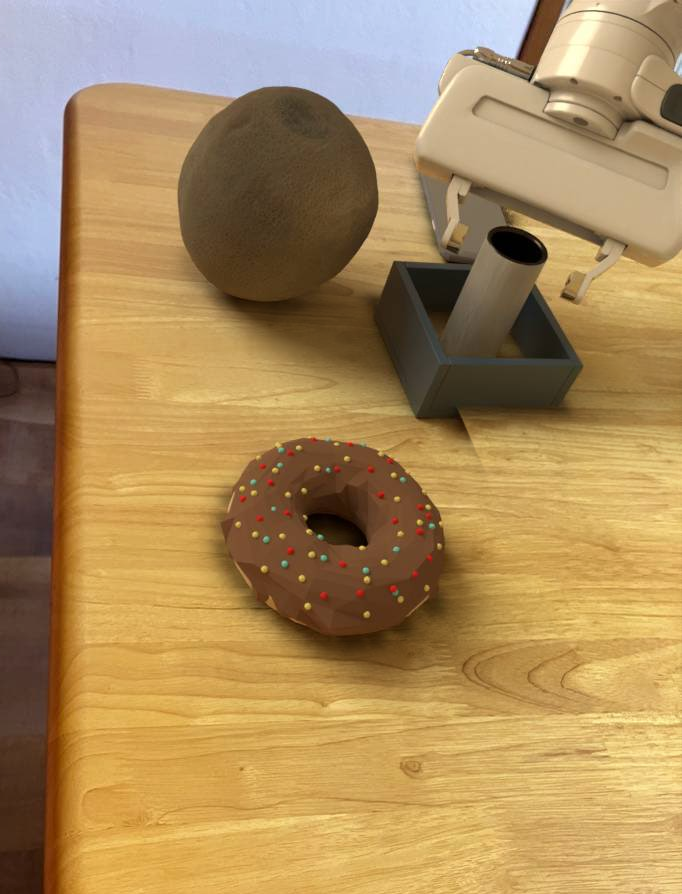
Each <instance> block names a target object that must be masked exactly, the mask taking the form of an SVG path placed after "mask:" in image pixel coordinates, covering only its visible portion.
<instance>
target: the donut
mask: <svg viewBox="0 0 682 894" xmlns="http://www.w3.org/2000/svg"><path fill="white" fill-rule="evenodd" d="M313 514H331V515H334V516H337V517H339V518H342V519H344V520H346V521H348V522H350V523H353V524H354V525H355V526H356V527H357V528H358V529H359V530H360V531H361V532H362V533H363V535H364V537H365V538H366V542H367V545H366V546H364V545H360V546H354V545H351V544H339V545H338V544H337V545H335V544H331V543H329V542H327V541H326V540H324V535H321V534H317V533H315V532H314V531H313V530H312V529H310V528H309V527H308V525H307V522H306V521H308V517H309V516H312V515H313ZM219 524H220V527H221V531H222V535H223V538H224V542H225V545H226V546H227V551H228V553H227V554H228V557H229V558H230V559H232V560H233V561H234V564H235V567H236V568H237V570H238V571H239V573H240V574H241V576H242V578H243V579H244V581H245V582H246V583H247V586H248V587H249V588H250V589H251V590H252V591H253V594H254V597H255V600H256V601H258V602H261V603H264V604H266V605H267V606H268V607H270V608H271V609H273V610H274V611H276V612H277V613H278V615H280V616H281V617H284V618H287V619H289V620H291V621H292V622H294V623H297V624H300V625H303V626H305V627H307V628H309V629H311V630H312V631H315V632H317V633H319V634H320V635H325V636H333V637H340V636H341V637H342V636H343V637H344V636H353V635H365V634H371V633H377V632H380V631H384V630H386V629H388V628H391V627H396V626H400V625H401V624H402V623H403V621H404V620H405V618H407V617H408V616H410V615H411V614H412V613H413V612H414V611H416V610H417V609H418V608H419V607H420V606H422V605H423V604H424V603H425V602H426V601H429V600H434V598H435V597H436V596H437V595H438V594H439V587H440V578H441V571H442V565H443V558H444V554H445V547H446V540H445V533H444V526H445V525H444V522H443V519H442V516H441V513H440V510H439V508H438V507H437V506H436V504H435V503H433V501H432V499H431V498H430V497H429V496H428V494H427V490H426V489H423V488H422V487H421V485H420V484H419V483H418V481H417V480H416V479H414V478H413V476H412V475H411V471H410V470H408V469H405V468H404V467H403V466H402V465H401V464H400V463H399V462H398V461H396V460H395V456H394V455H392V454H390V455H388V454H386V453H384V452H383V451H380V450H378V449H375V448H373V447H369V446H367V444H366V443H365V442H361V443H353V442H350V441H349V442H347V441H340V440H332V439H331V438H330V437H327V438H325V439H318V438H316V437H315V436H313V435H309V436H308V437H301V438H296V439H293V440H289V441H286V442H279V441H278V442H276V443H275V444H274V447H273V448H270V449H269V450H267V451H266V452H264V453H263V454H261V455H257V456H256V457H255V458H254V459H252V460H250V461H249V463H248V464H247V466H246V467H245V469H244V470H243V472H242V473H241V475H240V477H239V479H238V480H237V481H236V482H235V484H233V486H232V491H231V499H230V500H229V504H228V506H227V514H226V515H225V516H224V517H223V518H222V520H220V522H219Z"/></svg>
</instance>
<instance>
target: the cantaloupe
mask: <svg viewBox="0 0 682 894" xmlns="http://www.w3.org/2000/svg"><path fill="white" fill-rule="evenodd" d="M186 153H187V154H186V155H185V157H184V160H183V163H182V165H181V169H180V172H179V175H178V181H177V182H178V183H177V191H176V193H177V209H178V210H177V211H178V219H179V228H180V235H181V239H182V242H183V244H184V247H185V249H186V251H187V254H188V255H189V257H190V259H191V260H192V263H194V265H195V267H196V268H197V269H198V271H199V272H200V273H201V274H202V276H204V278H205V279H206V280H207V281H208V282H209V283H210V284H212V285H213V286H214V287H215V288H216V289H218V290H220V291H221V292H224V293H225V294H227V295H230V296H233V297H236V298H239V299H243V300H248V301H254V302H276V301H277V302H278V301H284V300H288V299H292V298H295V297H299V296H301V295H304V294H306V293H308V292H310V291H313V290H315V289H318V287H320V286H322V285H324V284H326V283H328V282H329V281H331V280H332V279H334V278H335V277H336V276H338V275H339V273H341V272H342V271H343V270H344V269H345V268H346V266H347V265H348V264H349V263H350V262H351V261H352V260H353V259H354V257H355V256H356V255H357V253H358V252H359V251H360V249H361V247H362V246H363V244H364V243H365V242H366V240H367V238H368V237H369V235H370V233H371V231H372V229H373V226H374V224H375V220H376V217H377V215H378V210H379V204H380V202H379V187H378V178H377V176H378V175H377V169H376V165H375V162H374V160H373V157H372V154H371V152H370V150H369V148H368V145H367V143H366V141H365V139H364V138H363V136H362V134H361V132H360V131H359V129H358V127H356V126H355V124H354V123H353V121H352V120H351V119H349V118H348V116H346V115H345V113H344V112H343V111H342V110H341V109H340V108H339V106H338V105H336V104H335V103H334V102H333V101H332V100H330V99H328V97H325V96H323V95H322V94H319V93H317V92H314V91H312V90H309V89H306V88H303V87H302V88H301V87H298V86H297V87H296V86H288V85H283V86H280V85H279V86H278V85H277V86H276V85H273V86H263V87H260V88H258V89H254V90H251V91H248V92H247V93H245V94H243V95H241V96H238V97H237V98H236V99H234V100H233V101H232V102H231V103H229V104H228V105H227V106H226V107H225V108H223V109H222V110H220V111H218V112H217V113H215V115H213V116H212V117H211V118H209V120H208V122H207V123H206V124H205V125H204V127H203V128H202V129H201V130H200V132H199V134H198V136H197V137H196V139H195V140H194V142H193V143H192V144H191V146H190V148H189V149H188V152H186Z"/></svg>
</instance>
